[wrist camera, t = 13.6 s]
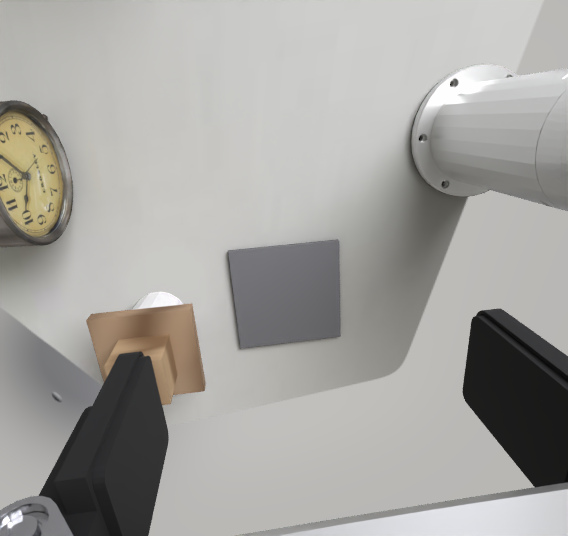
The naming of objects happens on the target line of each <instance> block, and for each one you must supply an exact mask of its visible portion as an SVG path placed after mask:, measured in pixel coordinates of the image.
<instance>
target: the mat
mask: <svg viewBox="0 0 568 536" xmlns="http://www.w3.org/2000/svg"><path fill="white" fill-rule="evenodd" d="M228 255H229V263H230V271H231V279H232V286H233V294H234V302H235V309H236V317H237V325H238V333H239V340H240V348H249V347H258V346H266V345H274V344H282V343H291V342H299V341H307V340H315V339H324V338H332V337H340V336H341V335H340V271H339V241H338V240H329V241H319V242H309V243H299V244H289V245H279V246H269V247H259V248H249V249H239V250H229V251H228Z"/></svg>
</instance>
